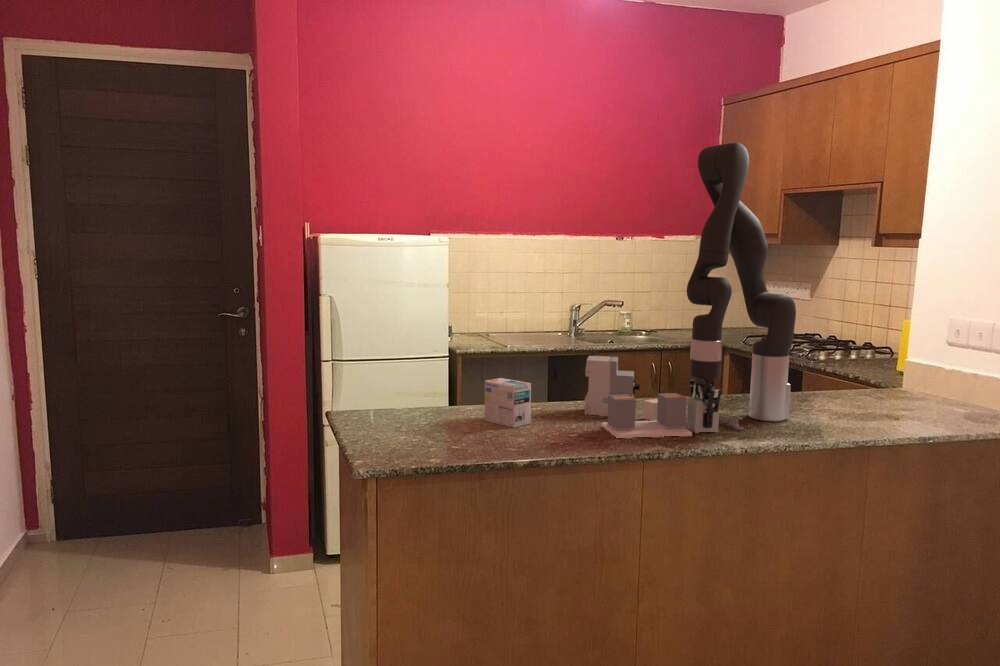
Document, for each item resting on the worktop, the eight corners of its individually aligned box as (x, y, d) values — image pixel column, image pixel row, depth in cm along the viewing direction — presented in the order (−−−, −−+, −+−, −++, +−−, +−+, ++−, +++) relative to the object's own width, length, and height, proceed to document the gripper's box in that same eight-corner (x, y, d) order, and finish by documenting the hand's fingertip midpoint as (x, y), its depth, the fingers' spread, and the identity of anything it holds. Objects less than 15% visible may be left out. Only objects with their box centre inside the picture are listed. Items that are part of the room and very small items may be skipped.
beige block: (655, 417, 204) (656, 399, 203) (665, 420, 200) (665, 402, 200) (643, 418, 202) (644, 400, 202) (652, 422, 199) (653, 403, 198)
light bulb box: (531, 423, 195) (532, 382, 194) (514, 428, 190) (514, 386, 189) (501, 416, 203) (501, 376, 201) (483, 421, 198) (483, 380, 196)
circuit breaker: (638, 418, 202) (640, 362, 200) (584, 415, 205) (585, 360, 203) (638, 411, 210) (640, 358, 208) (586, 408, 213) (588, 355, 211)
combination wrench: (694, 403, 208) (740, 418, 189) (698, 402, 208) (744, 417, 189) (693, 416, 208) (739, 433, 189) (697, 416, 209) (744, 432, 190)
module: (709, 427, 194) (710, 395, 193) (718, 432, 189) (719, 399, 188) (686, 428, 193) (688, 396, 192) (695, 433, 188) (696, 400, 187)
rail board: (672, 423, 197) (673, 389, 196) (691, 436, 185) (693, 400, 184) (601, 426, 194) (602, 391, 192) (616, 438, 182) (618, 402, 181)
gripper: (733, 362, 182) (729, 431, 184) (707, 352, 196) (704, 417, 198) (704, 362, 181) (700, 432, 183) (679, 353, 195) (676, 418, 197)
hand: (702, 424), depth 191 cm, fingers closed on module, 5 cm apart
